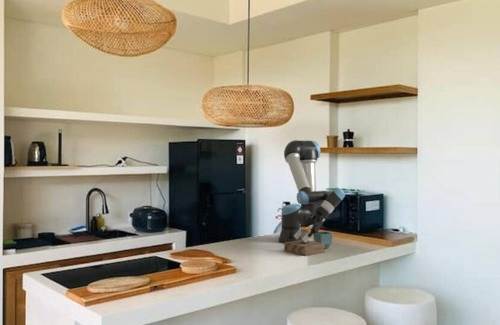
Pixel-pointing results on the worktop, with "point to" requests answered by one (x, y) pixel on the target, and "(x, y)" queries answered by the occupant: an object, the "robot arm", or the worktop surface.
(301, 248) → the block
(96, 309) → the worktop surface
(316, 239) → the flower pot
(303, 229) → the metal pin
